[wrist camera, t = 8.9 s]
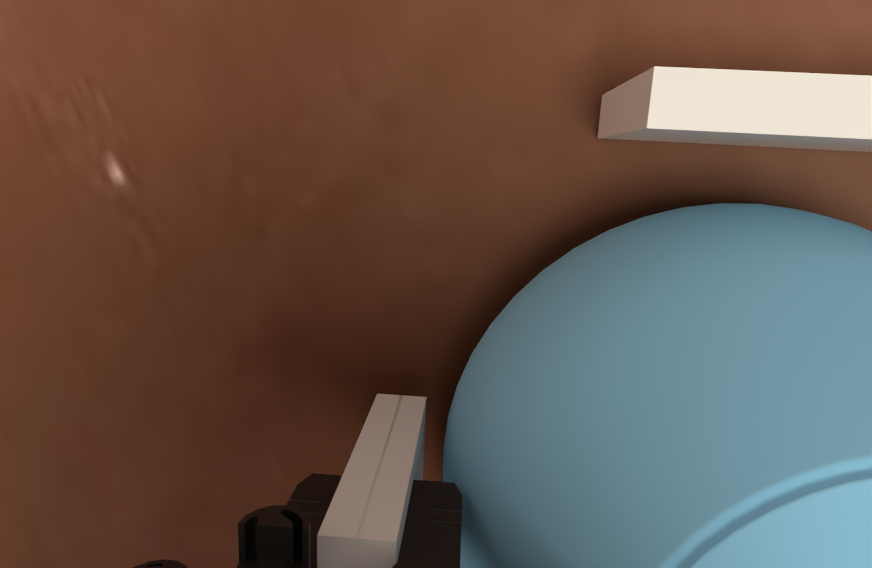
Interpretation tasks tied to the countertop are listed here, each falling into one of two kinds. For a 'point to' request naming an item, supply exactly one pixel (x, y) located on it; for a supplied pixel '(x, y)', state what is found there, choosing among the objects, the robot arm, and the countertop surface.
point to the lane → (741, 109)
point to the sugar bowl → (676, 400)
